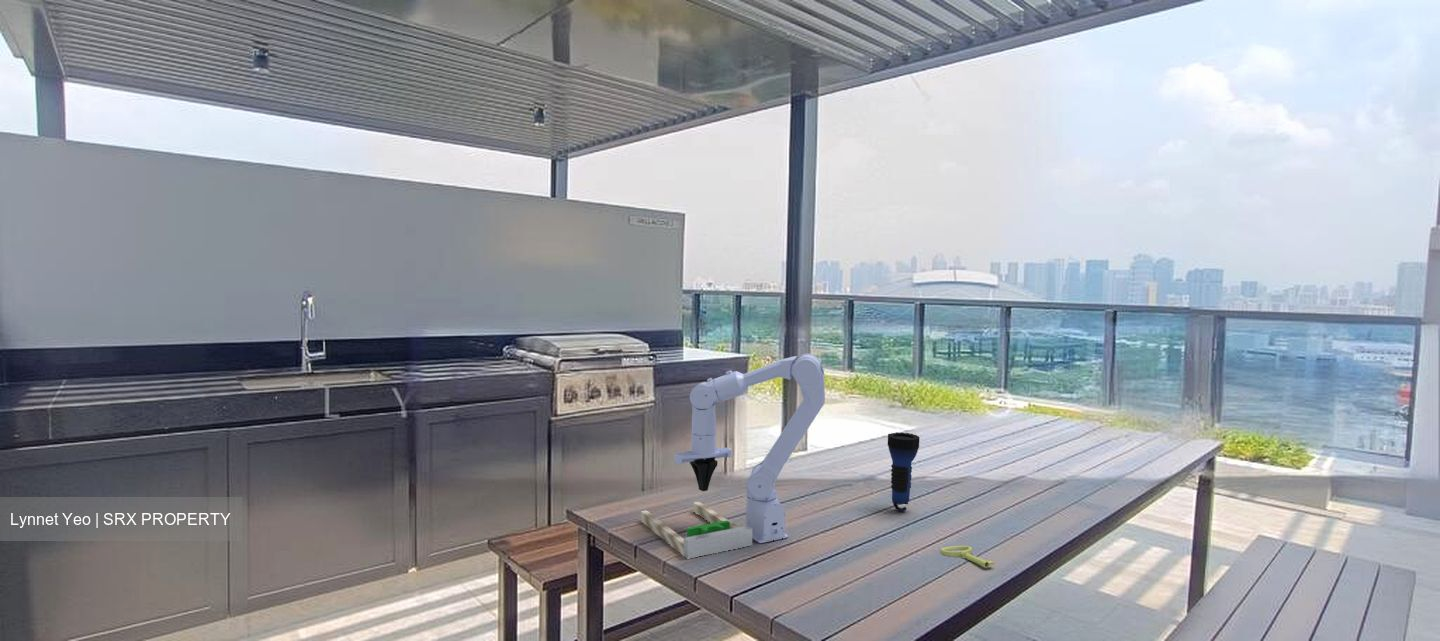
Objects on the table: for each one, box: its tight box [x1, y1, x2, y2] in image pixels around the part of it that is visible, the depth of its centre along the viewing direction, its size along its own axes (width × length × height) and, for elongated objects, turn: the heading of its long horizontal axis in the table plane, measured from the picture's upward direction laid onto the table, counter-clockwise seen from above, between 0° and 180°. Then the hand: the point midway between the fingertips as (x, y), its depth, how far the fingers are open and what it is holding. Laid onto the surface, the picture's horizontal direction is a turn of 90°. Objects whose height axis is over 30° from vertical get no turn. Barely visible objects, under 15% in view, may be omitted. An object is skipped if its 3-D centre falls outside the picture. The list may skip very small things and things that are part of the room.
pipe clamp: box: [686, 519, 730, 537], centre depth 144 cm, size 10×4×4 cm, turn 120°
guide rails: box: [640, 501, 740, 557], centre depth 152 cm, size 24×16×2 cm, turn 29°
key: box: [939, 545, 996, 568], centre depth 139 cm, size 7×12×2 cm, turn 36°
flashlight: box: [887, 432, 920, 512], centre depth 168 cm, size 8×8×20 cm
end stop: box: [683, 525, 753, 560], centre depth 140 cm, size 2×16×4 cm, turn 119°
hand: (703, 489), depth 153 cm, fingers closed
